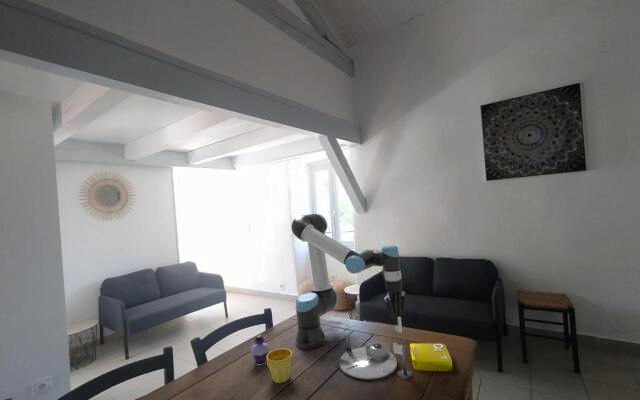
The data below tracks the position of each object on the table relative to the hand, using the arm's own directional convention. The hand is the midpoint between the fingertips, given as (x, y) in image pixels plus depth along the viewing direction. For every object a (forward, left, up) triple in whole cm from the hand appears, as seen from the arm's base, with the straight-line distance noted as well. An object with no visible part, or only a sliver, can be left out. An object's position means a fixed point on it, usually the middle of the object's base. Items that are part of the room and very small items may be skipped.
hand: (398, 331), depth 134 cm
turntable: (-2, -19, -8) cm, 21 cm away
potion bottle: (-33, -55, -9) cm, 64 cm away
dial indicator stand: (+15, -14, -8) cm, 22 cm away
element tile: (+14, +2, -9) cm, 17 cm away
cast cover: (0, -13, -7) cm, 15 cm away
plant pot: (-15, -53, -9) cm, 55 cm away
